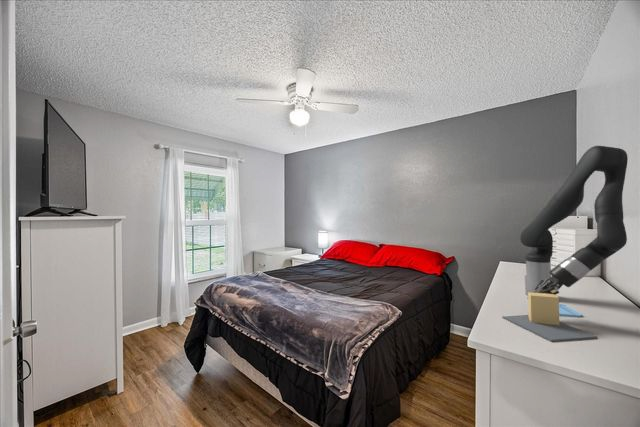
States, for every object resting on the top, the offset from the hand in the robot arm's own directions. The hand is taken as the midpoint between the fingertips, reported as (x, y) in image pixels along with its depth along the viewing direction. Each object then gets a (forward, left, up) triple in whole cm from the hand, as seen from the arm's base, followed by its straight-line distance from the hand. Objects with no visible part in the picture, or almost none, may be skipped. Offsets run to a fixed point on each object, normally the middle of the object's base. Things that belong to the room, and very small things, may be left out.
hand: (529, 300), depth 104 cm
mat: (+10, -4, -6) cm, 12 cm away
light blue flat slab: (-5, +15, -7) cm, 17 cm away
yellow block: (+7, -1, -5) cm, 9 cm away
